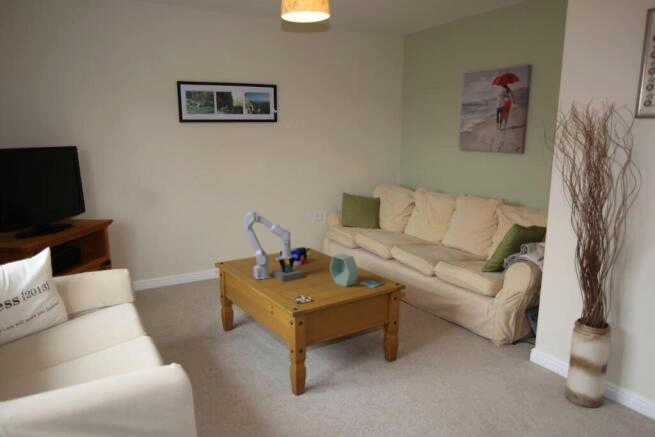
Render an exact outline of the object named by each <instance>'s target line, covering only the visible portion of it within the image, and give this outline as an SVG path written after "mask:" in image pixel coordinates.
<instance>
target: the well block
mask: <svg viewBox="0 0 655 437" xmlns="http://www.w3.org/2000/svg"><path fill="white" fill-rule="evenodd" d="M272 276H274V278H275V279H276V280H278V279H279V281H280V280H281V282H282V283H284V282H289V280H290V281H293V280H295V281H296V280H299V279H302V278H303V272H302V271H301V270H299V269H297V268H295V267H292V270H291V272H290V273H284V271H282V268H280V269H275V270H272Z"/></svg>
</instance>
